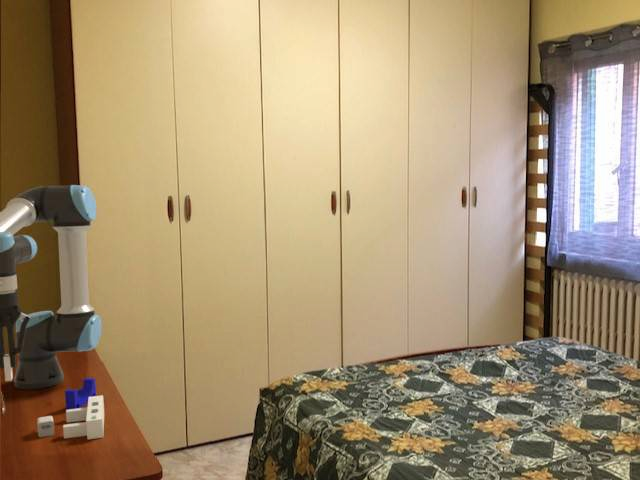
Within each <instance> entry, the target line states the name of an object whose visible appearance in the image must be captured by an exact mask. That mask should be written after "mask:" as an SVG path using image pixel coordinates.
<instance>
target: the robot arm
mask: <svg viewBox="0 0 640 480" xmlns="http://www.w3.org/2000/svg"><path fill="white" fill-rule="evenodd" d="M97 211H98V210H97V203H96V198H95V195H94V193H93V192H92V190H91V189H90V188H89V187H88V186H86V185H78V184H71V185H69V184H68V185H42V186H37V187H33V188H31V189H28V190H26V191H24V192H22V193H20V194H18V195H16V196H15V197H13V198H12V199H10V200H9V201H8V202H7V203H6V206H5V208H4V209H2V211H0V369H1V370H2V369H4V380H5V382H12V380H13V379H14V380H13V381H14V383H13V384H14V387H15V388H17V389H20V390H37V389H38V390H39V389H45V388H49V387H53V386H56V385H59V384H60V383H62V382H63V381H64V371H63V369H62V367H61V365H60V362H59V360H58V358H57V352H58V353H59V352H78V353H82V352H89V351H92V350H95V348H96V347H97V345H98V343H99V342H100V338H101V337H102V336H101V335H102V329H103V327H102V326H103V325H102V324H103V323H102V319H101V316H100V315H98V314H95V308H94V307H93V306H92V305H90V294H89V292H90V290H89V269H88V266H89V265H88V250H87V249H88V247H87V231H88V229H90V228H91V222H93V221H95V219H96V217H97V213H98V212H97ZM47 222H48V223H50V222H51V223H52V229H54V230H55V231H56V232H57V236H58V237H57V239H58V259H59V261H58V262H59V280H60V298H61V299H60V301H61V302H60V303H61V306H60V308H59V309H58V310H56V315H54V314H55V313H54V312H53V311H52V310H43V311H42V310H41V311H37V312H32V313H29V314H26V313H23V312H22V310H21V308H20V306H19V305H20V304H19V292H18V291H17V289H18V279H17V277H18V276H17V268H16V265H21V264H25V263H27V262H29V261H31V260H32V259H34V257H35V256H36V255H37V253H38V246H37V245H38V244H37V242H36V240H35V239H34V238H33V237H32V236H30V235H27V234H26V235H25V234H17V235H16V233H18V232H19V231H20V230H21V229H22V228H26V227H29V226H31V225H33V224H34V223H47ZM14 235H15V236H14ZM14 325H15V330H14ZM4 327H5V328H6V331H7V343H8V345H7V346H8V354H7V353H6V351H5V350H6V349H5V338H4ZM14 331H15V332H14ZM15 336H16V343H15ZM5 353H6V354H5ZM16 355H17V356H18V357H16ZM16 358H17V359H18V360H17V359H16ZM17 361H18V364H17ZM16 365H17V366H16ZM15 367H16V371H15V374H14V373H13V368H15ZM13 374H14V375H13Z"/></svg>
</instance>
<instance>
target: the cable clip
mask: <svg viewBox="0 0 640 480" xmlns="http://www.w3.org/2000/svg"><path fill="white" fill-rule="evenodd" d="M93 396H97V389H96V378H91V377H90V378H84V379H83V386H82V387H81V388H79V389H66V390H64V397H65V398H64V399H65V411H66V410H69V409H77V408H83V406H85V405H87V404H88V398H89V397H93Z"/></svg>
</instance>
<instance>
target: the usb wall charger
mask: <svg viewBox="0 0 640 480" xmlns="http://www.w3.org/2000/svg"><path fill="white" fill-rule="evenodd" d="M36 423H37V435H38V437H39V438H44V437H50V436H54V435H55V423H54V417H53V416H52V415H47V416H41V417H38V418H37V420H36Z"/></svg>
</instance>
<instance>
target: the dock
mask: <svg viewBox="0 0 640 480" xmlns="http://www.w3.org/2000/svg"><path fill="white" fill-rule="evenodd" d="M65 411H66V412H65V416H66V423H67V424H63V426H62V431H63V439H71V438H78V437H85V436H86V438H87V440H93V439H100V438H101V439H103V438H104V434H105V433H104V429H105V428H104V427H105V404H104V395H103V394H102V395H96V396H93V397H89V398H88V403H87V407H86V406H85V407H80V408H77V409H69V410H66V409H65ZM81 421H84V422H81ZM73 422H75V423H73Z"/></svg>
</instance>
